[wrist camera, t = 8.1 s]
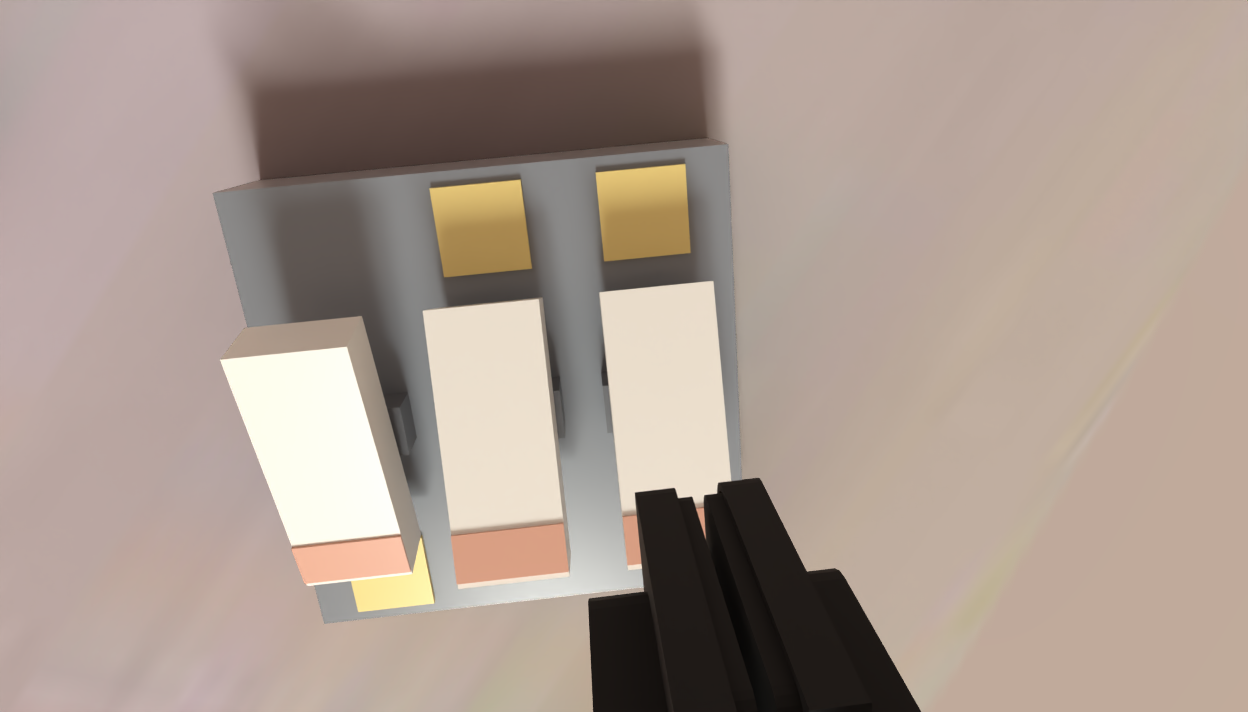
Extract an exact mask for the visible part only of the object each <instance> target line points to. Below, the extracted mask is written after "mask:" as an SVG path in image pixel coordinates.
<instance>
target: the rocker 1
mask: <svg viewBox="0 0 1248 712" xmlns="http://www.w3.org/2000/svg"><path fill="white" fill-rule="evenodd" d="M220 361H221V364H222V366H223V369H224V372H225V374H226V377H227V379H228V382H229V385H230V387H231V390H232V392H233V395H234V397H235V400H236V403H237V405H238V408H239V410H240V413H241V416H242V418H243V421H244V423H245V426H246V429H247V431H248V434H249V436H250V439H251V441H252V444H253V447H254V449H255V452H256V454H257V457H258V460H259V462H260V465H261V467H262V470H263V473H264V475H265V478H266V480H267V483H268V486H269V488H270V491H271V493H272V496H273V498H274V501H275V504H276V506H277V509H278V511H279V514H280V517H281V519H282V522H283V524H284V527H285V530H286V532H287V535H288V537H289V540H290V543H291V545H292V549H291V550H292V552H293V555H294V557H295V560H296V562H297V565H298V568H299V570H300V573H301V575H302V578H303V581H304V583H305V584H307V586H312V585H320V584H329V583H338V582H347V581H356V580H365V579H374V578H383V577H392V576H400V575H409V574H413V569H414V564H415V560H416V555H417V550H418V546H419V541H420V537H421V532H420V529H419V525H418V521H417V517H416V514H415V510H414V506H413V503H412V499H411V495H410V492H409V488H408V484H407V481H406V477H405V473H404V470H403V466H402V462H401V458H400V455H399V451H398V447H397V444H396V440H395V436H394V433H393V429H392V425H391V422H390V418H389V414H388V411H387V407H386V403H385V399H384V396H383V392H382V388H381V385H380V381H379V377H378V374H377V370H376V366H375V363H374V359H373V355H372V352H371V348H370V344H369V340H368V337H367V333H366V329H365V326H364V322H363V318H362V316H357V317H347V318H337V319H327V320H317V321H307V322H297V323H287V324H278V325H268V326H258V327H248V328H244V329H243V330H242V332H241V333H240V334H239V336H238V337H237V338H236V340H235V341H234V342H233V343H232V345H231V346H230V347H229V349H228V350H227V351H226V353H225V354H224V355H223V356H222V358H221V359H220Z"/></svg>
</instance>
